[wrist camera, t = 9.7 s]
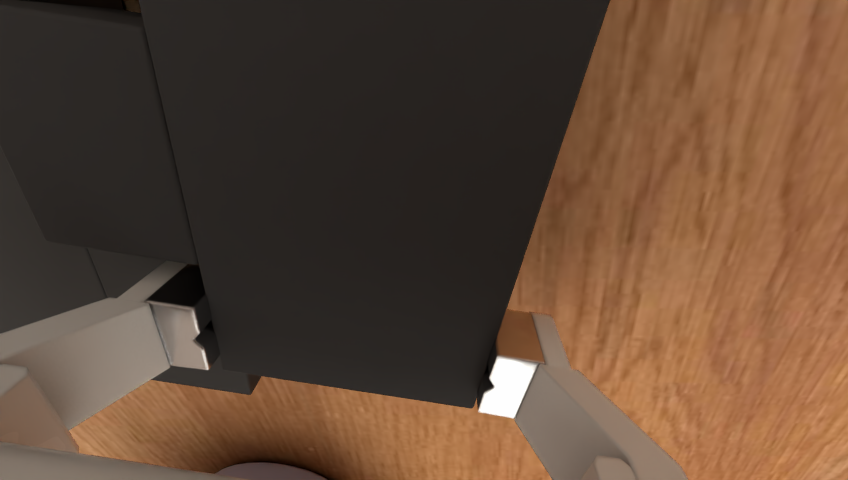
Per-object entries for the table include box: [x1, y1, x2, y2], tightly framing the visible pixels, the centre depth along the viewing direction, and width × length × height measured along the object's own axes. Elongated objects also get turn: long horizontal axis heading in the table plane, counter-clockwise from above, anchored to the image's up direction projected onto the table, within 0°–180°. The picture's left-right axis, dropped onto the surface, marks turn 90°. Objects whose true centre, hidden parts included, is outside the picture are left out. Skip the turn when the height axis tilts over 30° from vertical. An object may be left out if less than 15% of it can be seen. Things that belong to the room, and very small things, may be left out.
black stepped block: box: [0, 0, 610, 408], centre depth 7 cm, size 10×9×3 cm
